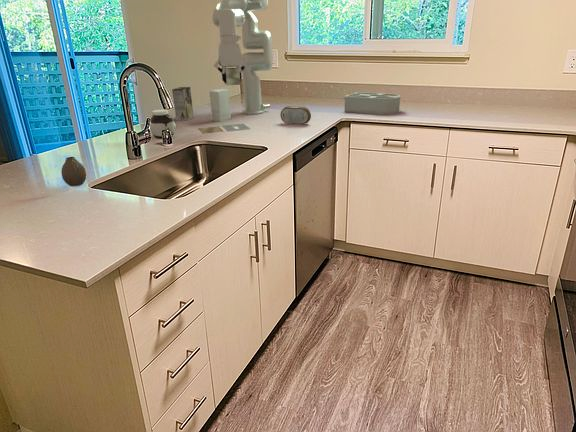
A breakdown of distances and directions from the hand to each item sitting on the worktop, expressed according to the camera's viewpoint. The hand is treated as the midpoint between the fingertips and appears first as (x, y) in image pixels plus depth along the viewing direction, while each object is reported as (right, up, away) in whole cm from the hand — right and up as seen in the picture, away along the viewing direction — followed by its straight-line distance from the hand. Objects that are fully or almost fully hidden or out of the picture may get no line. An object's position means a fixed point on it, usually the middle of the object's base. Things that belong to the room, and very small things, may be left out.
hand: (232, 81), depth 200 cm
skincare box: (-9, -12, +27) cm, 31 cm away
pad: (-11, -22, +5) cm, 25 cm away
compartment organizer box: (+72, -5, +39) cm, 82 cm away
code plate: (+1, -20, +9) cm, 21 cm away
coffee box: (-30, -10, +34) cm, 46 cm away
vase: (-42, -52, -61) cm, 90 cm away
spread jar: (-30, -25, -1) cm, 40 cm away
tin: (+29, -17, +14) cm, 36 cm away
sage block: (0, -1, 0) cm, 1 cm away
